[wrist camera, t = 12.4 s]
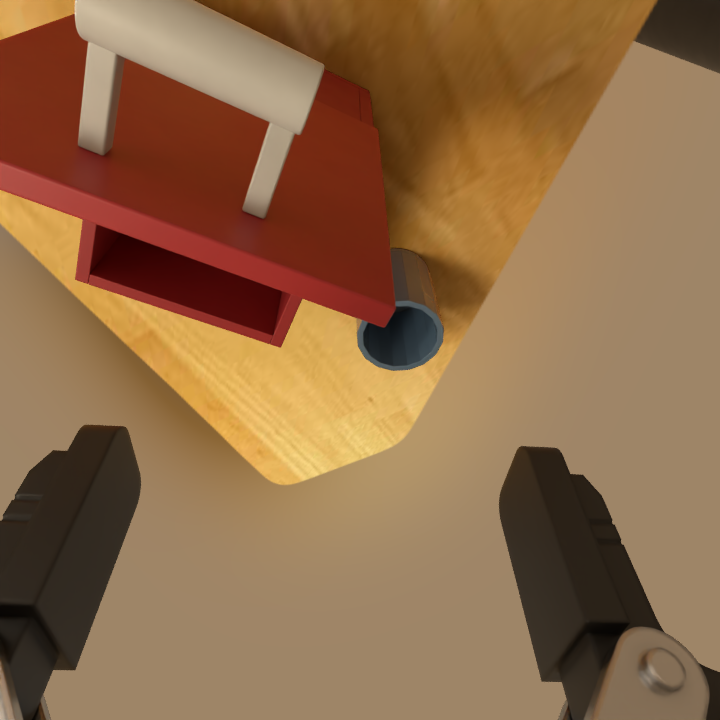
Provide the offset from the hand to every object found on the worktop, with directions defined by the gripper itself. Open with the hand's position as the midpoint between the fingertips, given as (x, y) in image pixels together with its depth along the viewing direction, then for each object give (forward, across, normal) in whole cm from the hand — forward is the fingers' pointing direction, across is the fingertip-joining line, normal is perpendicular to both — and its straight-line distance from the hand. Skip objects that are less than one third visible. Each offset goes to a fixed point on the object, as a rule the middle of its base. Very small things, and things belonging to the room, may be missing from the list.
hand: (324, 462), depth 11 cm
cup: (+32, -5, +14) cm, 35 cm away
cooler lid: (+13, +5, -2) cm, 14 cm away
